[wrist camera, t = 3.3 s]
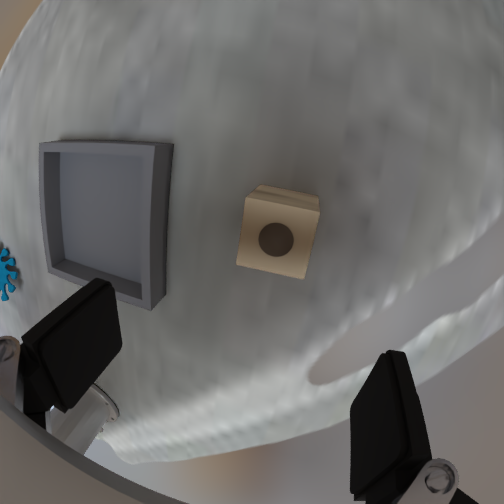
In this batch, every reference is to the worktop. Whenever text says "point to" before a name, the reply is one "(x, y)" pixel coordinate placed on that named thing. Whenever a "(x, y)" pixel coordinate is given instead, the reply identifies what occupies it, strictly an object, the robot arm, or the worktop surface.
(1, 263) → the gear
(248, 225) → the maple block
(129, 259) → the tray
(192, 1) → the worktop surface
